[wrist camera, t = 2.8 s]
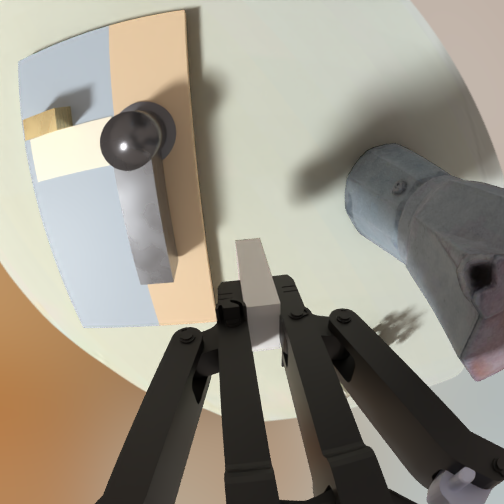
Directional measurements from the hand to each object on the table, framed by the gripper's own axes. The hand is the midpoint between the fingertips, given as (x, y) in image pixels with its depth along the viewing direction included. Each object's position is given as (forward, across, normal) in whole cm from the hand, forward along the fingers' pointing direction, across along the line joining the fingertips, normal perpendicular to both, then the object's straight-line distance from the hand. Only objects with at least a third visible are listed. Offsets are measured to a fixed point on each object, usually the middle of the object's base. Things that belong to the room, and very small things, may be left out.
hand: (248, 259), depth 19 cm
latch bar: (+5, -6, +4) cm, 9 cm away
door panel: (+6, -10, +4) cm, 12 cm away
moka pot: (+6, +13, +2) cm, 15 cm away
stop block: (+5, -14, +11) cm, 18 cm away
